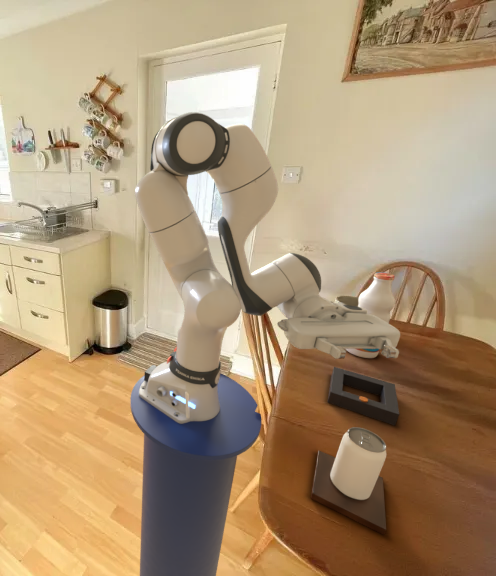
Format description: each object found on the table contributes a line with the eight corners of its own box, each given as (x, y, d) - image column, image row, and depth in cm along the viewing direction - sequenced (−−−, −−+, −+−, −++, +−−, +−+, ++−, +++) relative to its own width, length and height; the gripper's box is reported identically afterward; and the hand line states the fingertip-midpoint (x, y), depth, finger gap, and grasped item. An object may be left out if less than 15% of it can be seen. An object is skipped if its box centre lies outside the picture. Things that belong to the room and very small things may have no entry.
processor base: (327, 402, 85) (330, 390, 83) (331, 376, 95) (334, 365, 94) (394, 425, 77) (400, 413, 75) (390, 394, 87) (395, 382, 86)
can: (328, 489, 60) (344, 442, 56) (330, 464, 65) (345, 420, 61) (370, 508, 57) (391, 460, 53) (369, 481, 62) (387, 435, 57)
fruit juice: (358, 342, 113) (382, 268, 103) (384, 357, 104) (413, 278, 94) (336, 345, 111) (358, 271, 101) (361, 360, 102) (387, 280, 92)
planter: (367, 325, 125) (375, 300, 121) (366, 337, 116) (375, 311, 112) (330, 316, 132) (337, 293, 128) (327, 328, 123) (334, 302, 119)
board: (310, 498, 60) (312, 493, 60) (317, 455, 69) (318, 450, 69) (383, 535, 54) (386, 529, 54) (380, 482, 63) (382, 477, 63)
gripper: (276, 307, 68) (313, 340, 55) (370, 306, 68) (430, 339, 55) (271, 333, 70) (306, 370, 58) (362, 332, 70) (418, 369, 57)
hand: (367, 355), depth 56 cm, fingers open, 8 cm apart
